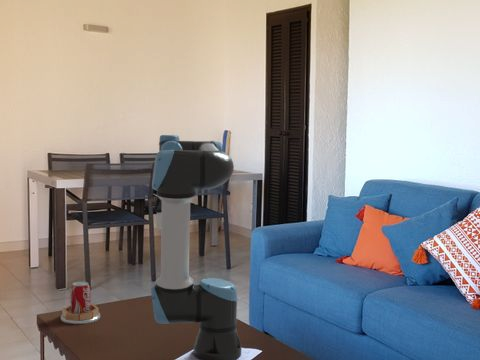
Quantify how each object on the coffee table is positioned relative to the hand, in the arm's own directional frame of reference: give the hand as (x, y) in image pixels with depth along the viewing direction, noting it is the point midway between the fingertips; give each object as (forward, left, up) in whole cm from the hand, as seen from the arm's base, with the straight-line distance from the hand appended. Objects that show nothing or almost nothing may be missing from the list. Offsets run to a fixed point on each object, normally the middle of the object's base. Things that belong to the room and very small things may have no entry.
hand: (168, 231), depth 228 cm
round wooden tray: (+9, +31, -31) cm, 45 cm away
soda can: (+9, +31, -30) cm, 44 cm away
